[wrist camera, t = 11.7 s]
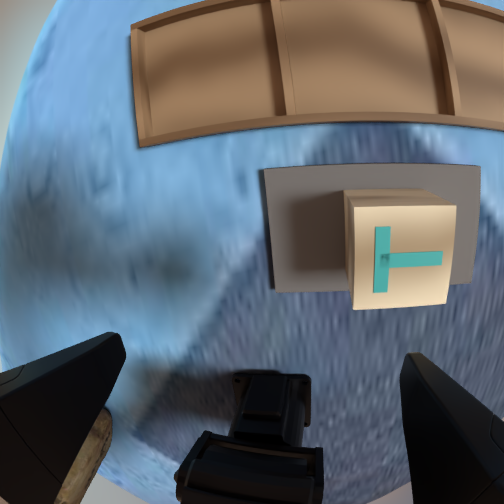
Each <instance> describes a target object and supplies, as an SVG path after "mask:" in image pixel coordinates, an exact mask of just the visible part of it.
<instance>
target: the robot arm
mask: <svg viewBox="0 0 504 504" xmlns="http://www.w3.org/2000/svg"><path fill="white" fill-rule="evenodd" d="M125 360H126V351H125V348H124V345H123V342H122V338H121V336H120V335H119V334H118V333H114V332H106V333H104V334H101V335H99V336H96V337H94V338H91V339H89V340H86V341H84V342H81V343H79V344H76V345H73V346H71V347H68V348H66V349H63V350H61V351H58V352H56V353H53V354H50V355H48V356H45V357H43V358H40V359H37V360H35V361H32V362H30V363H27V364H26V365H22V366H19V367H16V368H13V369H11V370H8V371H5V372H2V373H0V504H54V502H55V500H56V498H57V496H58V494H59V492H60V489H61V487H62V484H63V483H64V481H65V479H66V477H67V475H68V473H69V471H70V469H71V467H72V465H73V463H74V461H75V459H76V457H77V455H78V453H79V451H80V449H81V447H82V446H83V444H84V442H85V440H86V438H87V436H88V434H89V432H90V430H91V429H92V427H93V425H94V423H95V421H96V419H97V417H98V416H99V414H100V412H101V410H102V408H103V407H104V405H105V403H106V401H107V399H108V398H109V396H110V394H111V392H112V389H113V387H114V385H115V383H116V380H117V378H118V376H119V373H120V371H121V369H122V366H123V364H124V362H125ZM238 379H239V380H238ZM303 381H307V382H303ZM232 384H233V389H234V393H235V398H236V403H237V409H236V413H235V416H234V419H233V422H232V424H231V427H230V430H229V433H228V436H224V435H219V434H214V433H212V432H210V431H206V430H205V431H204V432H203V434H202V435H201V437H199V438H198V439H197V441H196V443H195V444H194V446H193V447H192V449H191V450H190V452H189V453H188V455H187V456H186V458H185V459H184V461H183V463H182V464H181V466H180V467H179V469H178V470H177V471H176V472H175V474H174V480H175V482H176V483H177V485H176V498H177V500H178V501H180V502H181V503H180V504H322V499H323V490H324V467H323V448H322V447H315V448H307V447H302V439H303V430H304V427H308V426H310V422H311V378H310V377H309V376H305V375H260V374H241V373H236V374H234V375H233V377H232ZM400 393H401V406H402V421H403V429H404V436H405V442H406V448H407V454H408V461H409V469H410V476H411V485H412V494H413V504H504V421H502V420H501V419H500V418H499V417H498V416H497V415H495V414H494V415H493V412H492V411H491V410H489V409H488V408H487V407H486V406H485V405H483V404H482V403H481V402H480V401H479V400H478V399H476V398H475V397H474V396H473V395H472V394H470V393H469V392H468V391H467V390H466V389H464V388H463V387H462V386H461V385H459V384H458V383H457V382H456V381H455V380H453V379H452V378H451V377H450V376H449V375H447V374H446V373H445V372H444V371H442V370H441V369H440V368H439V367H438V366H436V365H435V364H434V363H433V362H431V361H430V360H429V359H428V358H426V357H425V356H424V355H423V354H421V353H420V352H413V353H407V354H406V356H405V359H404V362H403V366H402V369H401V373H400Z"/></svg>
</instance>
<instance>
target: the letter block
mask: <svg viewBox="0 0 504 504" xmlns="http://www.w3.org/2000/svg"><path fill="white" fill-rule="evenodd" d="M343 191H344V213H345V270H346V275H347V280H348V285H349V290H350V295H351V300H352V306H353V310H361V309H380V308H397V307H411V306H424V305H436V304H446V299H447V293H448V287H449V280H450V274H451V266H452V258H453V249H454V238H455V225H456V205H455V204H453V203H451V202H449V201H447V200H445V199H443V198H441V197H439V196H437V195H435V194H433V193H431V192H428V191H426V190H424V189H360V190H343Z"/></svg>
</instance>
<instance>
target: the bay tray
mask: <svg viewBox="0 0 504 504" xmlns="http://www.w3.org/2000/svg"><path fill="white" fill-rule="evenodd" d="M131 54H132V72H133V86H134V98H135V109H136V119H137V128H138V137H139V145H140V147H149V146H155V145H160V144H165V143H170V142H175V141H180V140H186V139H191V138H197V137H203V136H209V135H215V134H222V133H229V132H236V131H244V130H252V129H261V128H270V127H281V126H292V125H306V124H323V123H349V122H399V123H424V124H440V125H453V126H463V127H473V128H481V129H489V130H496V131H503V132H504V11H502V10H499V9H496V8H493V7H490V6H487V5H483V4H480V3H477V2H473V1H469V0H205V1H201V2H197V3H194V4H190V5H186V6H183V7H180V8H176V9H173V10H170V11H167V12H164V13H161V14H158V15H155V16H152V17H150V18H147V19H144V20H142V21H139V22H136V23H134V24H131Z"/></svg>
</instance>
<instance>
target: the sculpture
mask: <svg viewBox="0 0 504 504" xmlns="http://www.w3.org/2000/svg"><path fill="white" fill-rule="evenodd" d="M111 441H112V417H111V415H110V413H109V412H108V411H107V410H105V409H102V410H101V412H100V414H99V416H98V417H97V419H96V421H95V423H94V425H93V427H92V429H91V430H90V432H89V434H88V436H87V438H86V440H85V442H84V444H83V446H82V447H81V449H80V451H79V453H78V455H77V457H76V459H75V461H74V463H73V465H72V467H71V469H70V471H69V473H68V475H67V477H66V479H65V481H64V483H63V484H62V487H61V489H60V492H59V494H58V496H57V498H56V500H55V502H54V504H80V502H81V501H82V499H83V497H84V495H85V493H86V491H87V489H88V487H89V486H90V483H91V481H92V480H93V478H94V476H95V474H96V473H97V471H98V468H99V467H100V465H101V462H102V461H103V459H104V458H105V456H106V454H107V452H108V449H109V447H110V444H111Z"/></svg>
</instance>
